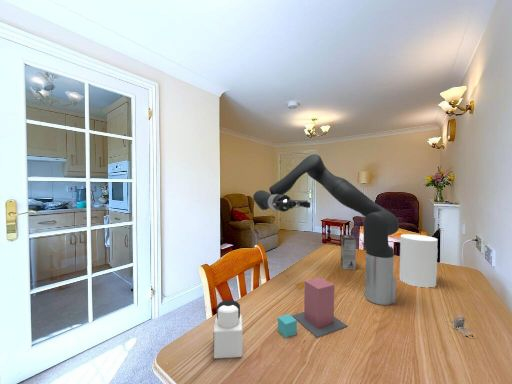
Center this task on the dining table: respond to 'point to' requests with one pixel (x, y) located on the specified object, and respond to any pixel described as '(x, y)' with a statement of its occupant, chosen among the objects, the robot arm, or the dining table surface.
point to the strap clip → (460, 324)
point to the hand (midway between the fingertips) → (301, 205)
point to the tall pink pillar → (319, 302)
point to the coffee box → (348, 251)
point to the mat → (323, 330)
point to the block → (287, 325)
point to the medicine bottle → (228, 330)
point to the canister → (418, 260)
